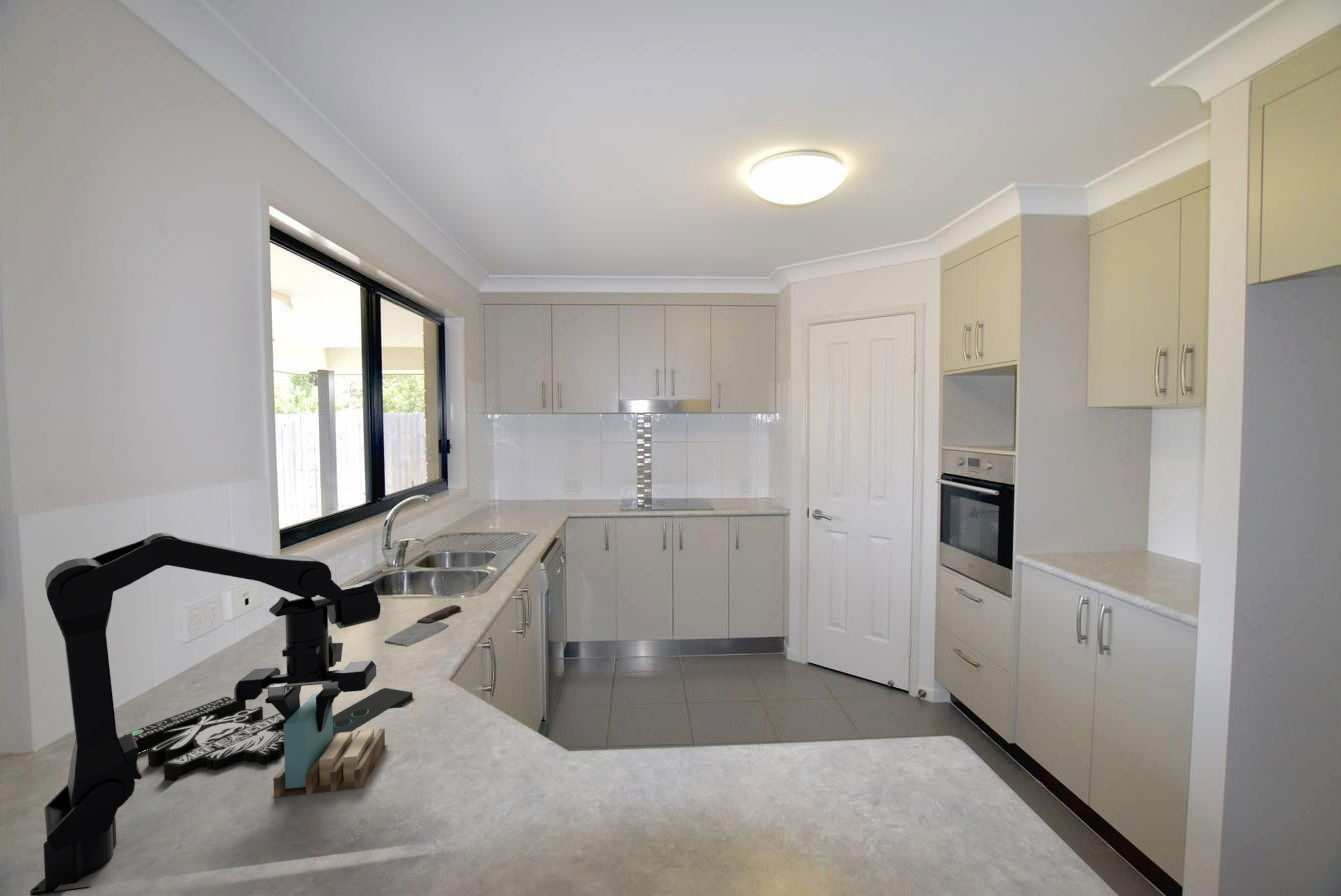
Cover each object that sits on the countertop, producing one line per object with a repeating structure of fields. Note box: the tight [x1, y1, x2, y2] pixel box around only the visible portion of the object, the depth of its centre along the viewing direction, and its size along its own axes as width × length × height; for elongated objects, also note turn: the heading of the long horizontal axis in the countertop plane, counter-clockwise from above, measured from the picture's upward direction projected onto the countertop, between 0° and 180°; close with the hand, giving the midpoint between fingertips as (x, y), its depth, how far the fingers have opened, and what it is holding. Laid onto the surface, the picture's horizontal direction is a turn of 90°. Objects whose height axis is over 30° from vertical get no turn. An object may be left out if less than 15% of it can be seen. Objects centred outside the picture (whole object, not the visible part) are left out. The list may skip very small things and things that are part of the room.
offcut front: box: [343, 729, 375, 782], centre depth 92 cm, size 8×2×4 cm, turn 11°
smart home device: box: [333, 687, 414, 738], centre depth 110 cm, size 8×2×20 cm
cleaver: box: [384, 604, 462, 647], centre depth 161 cm, size 30×10×2 cm, turn 168°
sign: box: [123, 696, 286, 782], centre depth 100 cm, size 19×3×30 cm
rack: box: [271, 728, 388, 799], centre depth 92 cm, size 12×13×4 cm
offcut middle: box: [319, 731, 353, 785], centre depth 92 cm, size 8×2×4 cm, turn 11°
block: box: [283, 693, 334, 789], centre depth 91 cm, size 10×3×10 cm, turn 11°
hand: (309, 731), depth 91 cm, fingers closed on block, 3 cm apart
